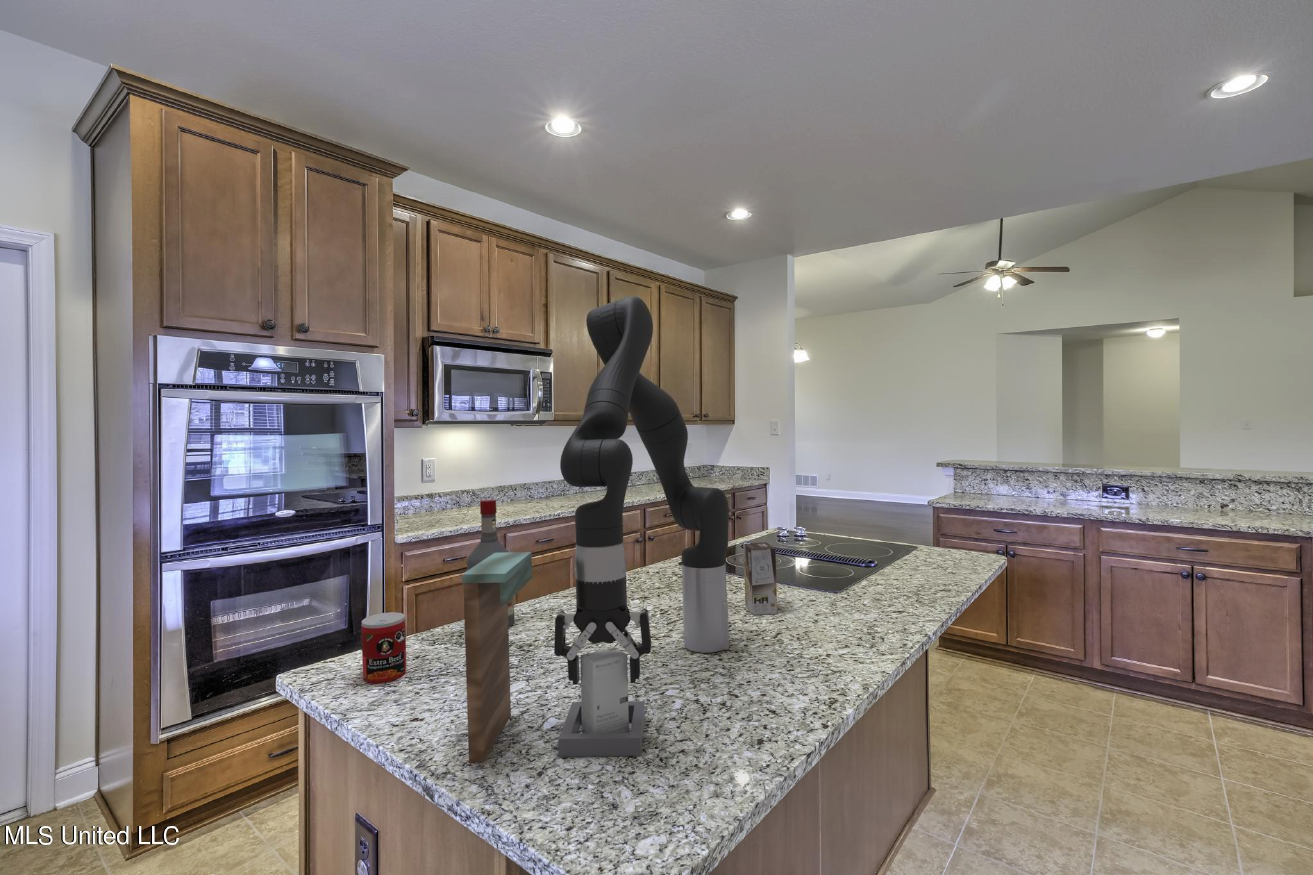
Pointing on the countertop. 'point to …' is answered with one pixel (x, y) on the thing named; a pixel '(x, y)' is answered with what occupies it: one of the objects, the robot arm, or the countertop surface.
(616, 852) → the countertop surface
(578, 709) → the socket
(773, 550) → the coffee box
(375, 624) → the canned food
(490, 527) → the liquor
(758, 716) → the countertop surface
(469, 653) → the awning stand
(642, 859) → the countertop surface
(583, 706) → the skincare box
